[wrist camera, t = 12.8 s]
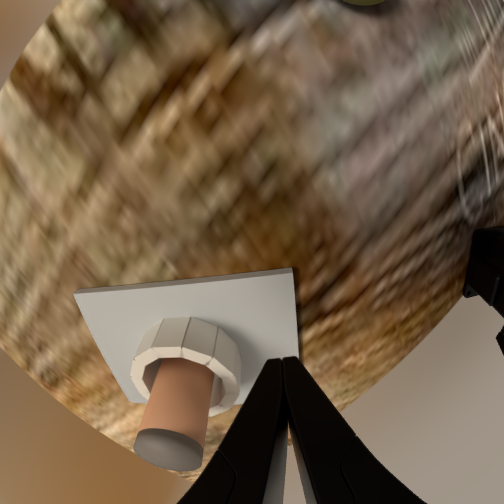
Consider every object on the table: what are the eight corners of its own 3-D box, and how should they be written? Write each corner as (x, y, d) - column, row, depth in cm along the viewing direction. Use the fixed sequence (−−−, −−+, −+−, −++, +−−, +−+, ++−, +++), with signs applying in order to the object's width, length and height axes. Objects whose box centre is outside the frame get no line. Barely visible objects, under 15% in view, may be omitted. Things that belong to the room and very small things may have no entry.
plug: (210, 334, 23) (189, 443, 14) (221, 372, 25) (209, 473, 15) (159, 337, 23) (122, 437, 14) (174, 373, 25) (149, 467, 16)
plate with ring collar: (291, 267, 21) (299, 300, 17) (300, 392, 27) (304, 427, 23) (77, 289, 22) (52, 317, 18) (132, 397, 28) (121, 426, 24)
